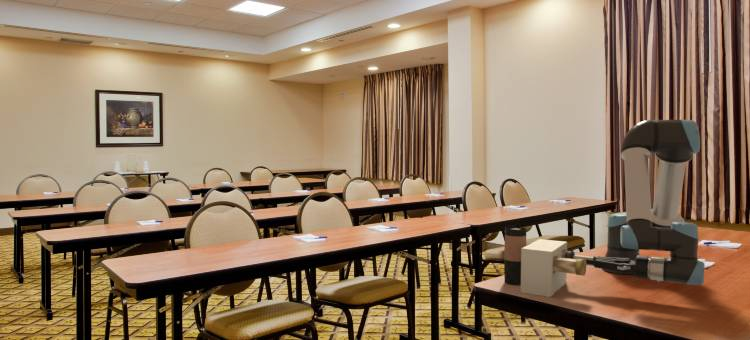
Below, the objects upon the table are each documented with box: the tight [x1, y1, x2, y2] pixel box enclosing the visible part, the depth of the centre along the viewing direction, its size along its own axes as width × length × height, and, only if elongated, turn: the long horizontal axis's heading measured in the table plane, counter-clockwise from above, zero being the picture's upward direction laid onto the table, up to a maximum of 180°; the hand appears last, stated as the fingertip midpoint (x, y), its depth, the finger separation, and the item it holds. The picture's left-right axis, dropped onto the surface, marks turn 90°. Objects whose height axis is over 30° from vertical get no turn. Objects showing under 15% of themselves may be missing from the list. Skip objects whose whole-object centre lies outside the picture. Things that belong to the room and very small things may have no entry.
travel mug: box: [503, 226, 527, 286], centre depth 192 cm, size 8×8×20 cm
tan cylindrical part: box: [562, 250, 576, 259], centre depth 191 cm, size 13×5×5 cm, turn 58°
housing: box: [520, 238, 568, 298], centre depth 186 cm, size 10×22×15 cm, turn 148°
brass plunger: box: [553, 257, 587, 277], centre depth 177 cm, size 13×5×5 cm, turn 58°
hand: (573, 259), depth 187 cm, fingers closed
